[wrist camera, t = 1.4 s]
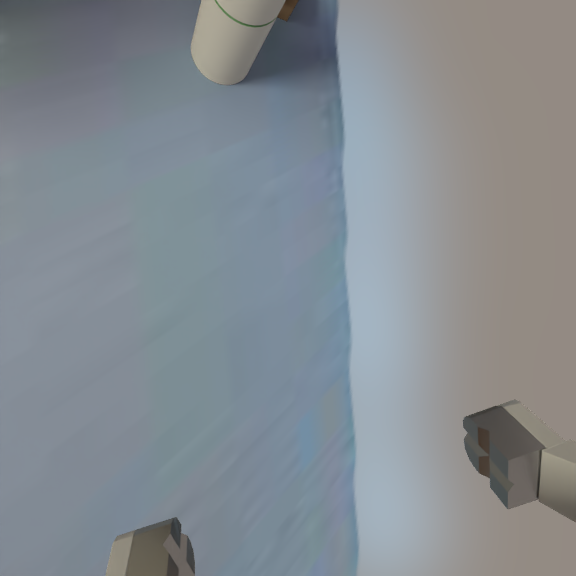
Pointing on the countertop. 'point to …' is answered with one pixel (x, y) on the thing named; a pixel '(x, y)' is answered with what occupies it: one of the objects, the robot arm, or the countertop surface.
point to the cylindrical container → (231, 36)
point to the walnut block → (287, 9)
